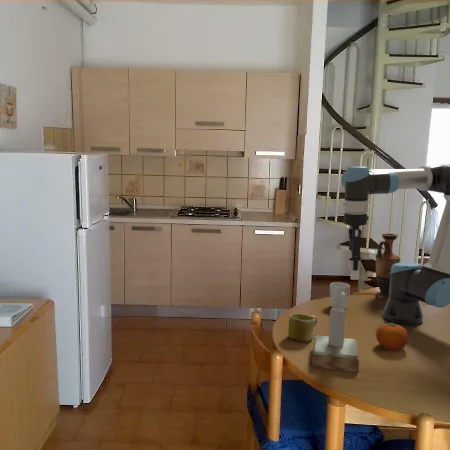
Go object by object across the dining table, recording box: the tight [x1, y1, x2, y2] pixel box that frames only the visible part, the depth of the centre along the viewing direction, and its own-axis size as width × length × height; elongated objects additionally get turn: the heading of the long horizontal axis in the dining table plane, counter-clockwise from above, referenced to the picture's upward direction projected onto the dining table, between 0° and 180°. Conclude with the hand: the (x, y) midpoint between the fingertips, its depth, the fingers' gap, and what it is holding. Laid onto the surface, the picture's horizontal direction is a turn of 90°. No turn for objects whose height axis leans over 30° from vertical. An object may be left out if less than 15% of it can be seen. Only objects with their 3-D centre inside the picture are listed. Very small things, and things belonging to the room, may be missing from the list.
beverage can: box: [328, 307, 347, 348], centre depth 145 cm, size 5×5×12 cm
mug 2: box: [329, 281, 351, 310], centre depth 196 cm, size 11×8×10 cm
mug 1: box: [288, 313, 318, 343], centre depth 164 cm, size 12×10×10 cm
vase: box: [375, 232, 401, 300], centre depth 210 cm, size 11×11×30 cm
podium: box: [311, 334, 360, 373], centre depth 146 cm, size 14×14×5 cm
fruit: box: [375, 322, 409, 351], centre depth 156 cm, size 11×10×8 cm
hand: (353, 273), depth 155 cm, fingers open, 13 cm apart
